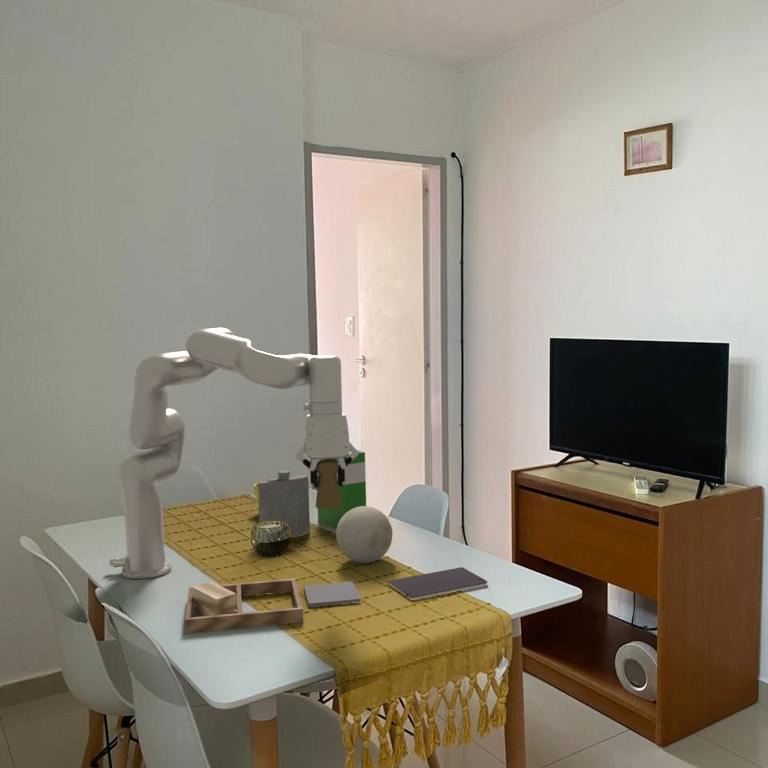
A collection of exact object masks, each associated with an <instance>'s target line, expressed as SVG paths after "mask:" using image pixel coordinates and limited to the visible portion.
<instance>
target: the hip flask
mask: <svg viewBox="0 0 768 768" xmlns="http://www.w3.org/2000/svg"><path fill="white" fill-rule="evenodd" d="M277 475H278V477H275V478H270V479H266V480H260V481H259V480H258V481H257V483H258V502H257V505H258V504H259V506H258V521H259V522H261V521H274V520H278V521H283V522H286V523H287V524H288V526H289V529H290V533H291V537H293V538H295V537H294V536H298V535H302V534H305V533H309V532H310V533H311V524H310V523H311V522H310V520H311V519H310V494H309V490H310V487H309V475H306V474H303V475H301V474H299V475H296V476H290V475H291V471H290V470H285V469H284V470H280V471H279V470H278V471H277ZM259 522H258V523H259ZM310 533H309V534H310ZM302 536H303V535H302ZM298 537H299V536H298Z"/></svg>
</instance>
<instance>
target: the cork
mask: <svg viewBox="0 0 768 768" xmlns="http://www.w3.org/2000/svg"><path fill="white" fill-rule="evenodd" d="M338 468H339V466H338V463H337V461H336V460H333V459H323V460H320V461H318V462H317V465H316V469H317V472H318V473H319V478H318V487H317V488H316V499H315V508H316V509H318V508H319V509H335V508H339V507H341V501H340V494H339V488H338V482H337V475H336V473H337V472H338Z"/></svg>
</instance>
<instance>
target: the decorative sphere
mask: <svg viewBox="0 0 768 768" xmlns="http://www.w3.org/2000/svg"><path fill="white" fill-rule="evenodd" d="M335 532H336V533H335V537H336V543H337V545H338V547H339V550H340V552H341V553H342V554H343V555H344V556H345V557H346V558H347V559H349V560H351V561H352V562H355V563H359V564H371V563H374V562H376V561H379V560H380V559H382V557H384V556H385V555H386V554H387V553H388V551H389V549H390V547H391V545H392V540H393V533H394V532H393V528H392V524H391V522H390V520H389V519H388V517H387V516H386V514H384V512H382V511H381V510H379V509H378V508H376V507H373V506H368V505H366V506H360V507H356V508H353V509H351V510H349V511H348V512H347V513H346V514H344V516H343V517H342V518H341V520H340V521H339V523H338V526H337V530H336V531H335Z"/></svg>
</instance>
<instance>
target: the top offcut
mask: <svg viewBox="0 0 768 768" xmlns="http://www.w3.org/2000/svg"><path fill="white" fill-rule="evenodd" d="M219 585H220V584H218V583H215V582H213V581H209V582H205V583H201V584H198V585H193V586H192V599H193V600H194V602H195V601H196V602H198V603H200V604H202V605H204V606H205V607H207V608H209V609H211V610H213V611H215V612H216V613H218V612H221V611H224V610H228V609H231V608H235V609H236V608H237V597H236V593H234V592H232V591H230V590H228V589H226V588H224V587H221V586H219Z"/></svg>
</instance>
